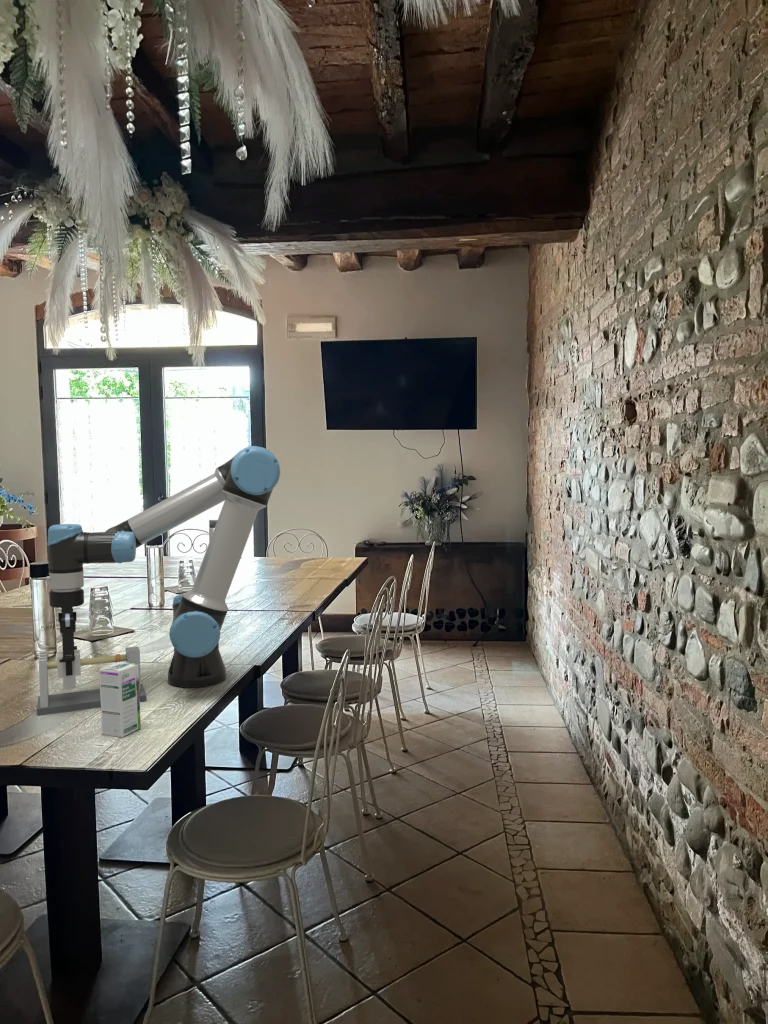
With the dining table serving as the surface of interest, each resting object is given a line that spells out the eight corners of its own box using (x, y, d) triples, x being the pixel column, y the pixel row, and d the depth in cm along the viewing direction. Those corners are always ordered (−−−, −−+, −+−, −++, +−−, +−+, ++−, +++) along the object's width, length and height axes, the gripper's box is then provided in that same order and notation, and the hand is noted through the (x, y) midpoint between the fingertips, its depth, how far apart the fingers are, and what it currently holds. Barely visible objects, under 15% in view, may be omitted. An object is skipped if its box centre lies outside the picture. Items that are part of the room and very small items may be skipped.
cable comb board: (142, 689, 182) (141, 641, 181) (146, 701, 173) (145, 650, 172) (38, 702, 172) (36, 651, 171) (37, 715, 163) (35, 661, 162)
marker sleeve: (80, 669, 173) (79, 649, 173) (80, 675, 169) (80, 654, 168) (57, 672, 171) (57, 652, 171) (57, 678, 167) (56, 657, 166)
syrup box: (122, 738, 149) (120, 670, 148) (100, 734, 151) (98, 667, 150) (141, 728, 154) (139, 663, 154) (119, 725, 157) (118, 660, 156)
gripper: (49, 583, 177) (52, 673, 178) (48, 597, 157) (51, 698, 159) (82, 581, 180) (85, 669, 181) (84, 595, 161) (87, 693, 162)
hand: (69, 682), depth 170 cm, fingers open, 8 cm apart
